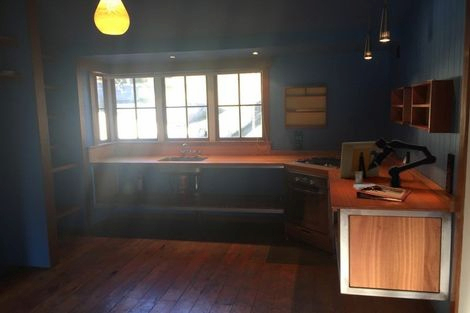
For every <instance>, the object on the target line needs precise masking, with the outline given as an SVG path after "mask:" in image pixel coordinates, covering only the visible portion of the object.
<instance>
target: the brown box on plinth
mask: <svg viewBox="0 0 470 313" xmlns="http://www.w3.org/2000/svg"><path fill="white" fill-rule="evenodd" d="M355 184H363V179H362V172H355V177H354V184H353V186H354V185H355Z"/></svg>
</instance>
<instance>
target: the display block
mask: <svg viewBox="0 0 470 313" xmlns="http://www.w3.org/2000/svg"><path fill="white" fill-rule="evenodd" d="M354 184H355V183H354ZM354 184H353V188H354V189H356V190H357V191H362V190H361V189H363V188H367V187H370V186H374V185H375V184H374V183H362V184H355V185H354Z"/></svg>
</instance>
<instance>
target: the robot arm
mask: <svg viewBox="0 0 470 313" xmlns="http://www.w3.org/2000/svg"><path fill="white" fill-rule="evenodd" d="M374 142H375V143H374V144H375V145H376V146H377V147H378V148H379V149H382V151H381V152H376V151H375V150H372V149H371V151H370V153H369V154H372V155H374V157H373V160H372V162H371V164H370V165H369V167H368V170H370V169H373V168H376V167H378V166H380V167H381V165H382V163H383V161H385V159H387V158H388V157H389V156H390V155H392V153H393V154H396V149H406V150H413V151H418V152H419V151H420V152H422V153H423V154H424V157H423V158H421V159H418V160H415V161H412V162H409V163H405V164H403V165H401V166H398V165H397V164H395V165H393V166H390V167H389V168H388V171H387V174H388V176H390V178H389V185H388V186H389V187H392V188H402V187H403V186H402V185H401V184H402V178H401V173H402V172H405V171H409V170H411V169H415V168H417V167H421V166H426V165H433V164H436V162H437V157H436V156H435V155H434V154H432V153H431V152H430V150H429V149H428V147H427V146H426V145H419V144H413V143H407V142H403V141H401V140H398V139H393V140H391V141H388V142H387V141H386V140H385V139H384V138H383V137H380V138H379V139H378V140H376V141H374Z"/></svg>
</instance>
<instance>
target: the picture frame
mask: <svg viewBox="0 0 470 313" xmlns="http://www.w3.org/2000/svg"><path fill="white" fill-rule="evenodd" d="M375 142H376V141H357V142H355V141H353V142H342V145H341V155H340V157H341V158H340V166H339V167H340V171H339V178H340V179H345V178H349V179H350V178H355V172H362V180H364V179H365V180H366V179H367V178H369V177H372V178H373V177H379V176H380V170H381V165H380V166H378V167H376V168H373V169H370V170H368V167H369V165H370V164H371V162H372V160H373V157H374V155H372V154H369V153H370V151H371V149H372V150H375V151H376V152H381V151H382V150H383V149H379V148H378V147H377V146H376V145H375V144H374V143H375Z"/></svg>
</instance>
